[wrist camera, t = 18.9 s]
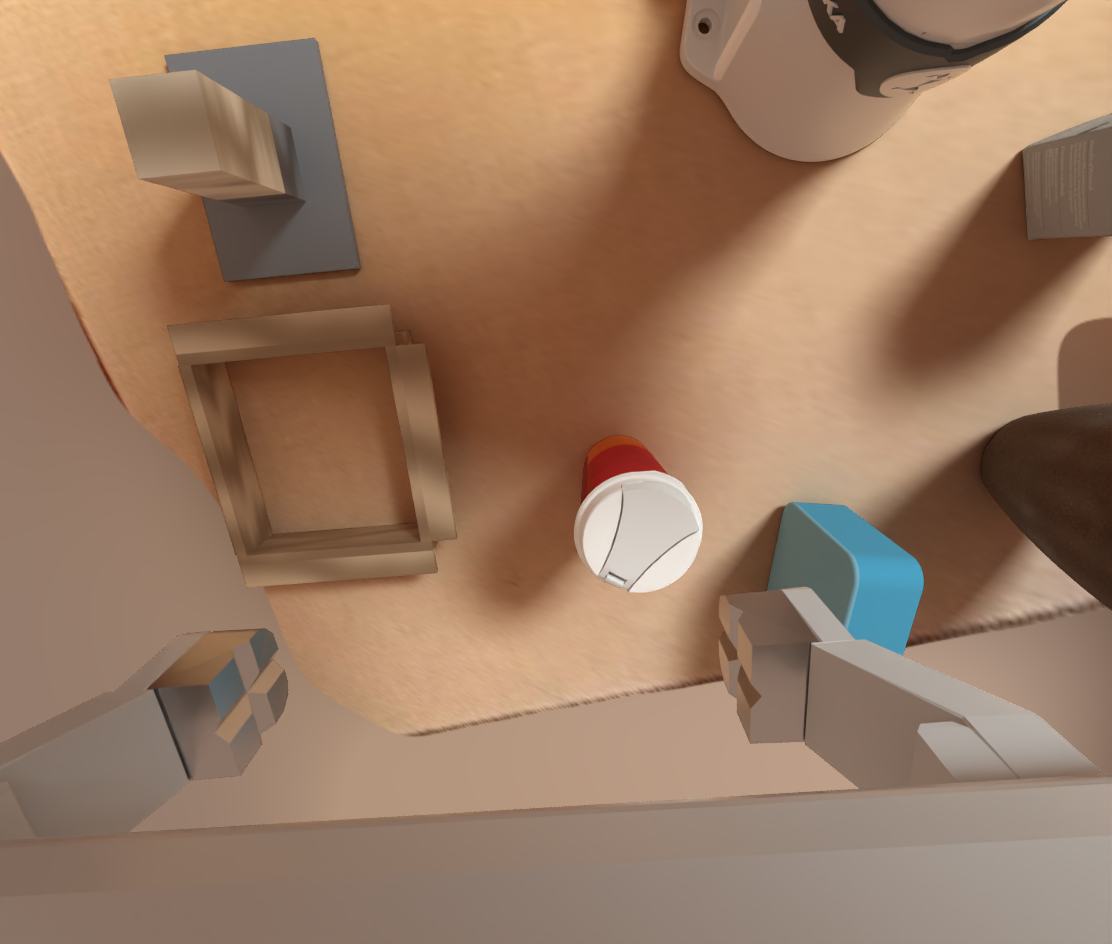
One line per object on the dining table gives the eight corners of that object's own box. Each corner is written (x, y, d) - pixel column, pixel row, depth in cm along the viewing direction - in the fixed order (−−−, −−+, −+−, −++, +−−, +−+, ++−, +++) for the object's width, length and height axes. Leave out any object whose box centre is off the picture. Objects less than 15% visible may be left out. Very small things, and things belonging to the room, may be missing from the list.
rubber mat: (170, 59, 36) (164, 55, 35) (317, 41, 36) (313, 37, 35) (229, 281, 40) (224, 281, 40) (360, 268, 40) (358, 268, 39)
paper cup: (633, 526, 46) (662, 620, 33) (554, 485, 45) (550, 565, 32) (683, 448, 44) (735, 515, 31) (601, 403, 43) (618, 452, 30)
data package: (809, 623, 49) (884, 723, 38) (759, 620, 49) (819, 719, 38) (838, 499, 45) (931, 568, 34) (784, 495, 45) (859, 564, 34)
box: (226, 134, 37) (109, 79, 27) (290, 127, 37) (195, 69, 27) (243, 207, 38) (138, 178, 29) (306, 200, 38) (220, 170, 29)
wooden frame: (199, 322, 41) (162, 325, 38) (431, 300, 41) (417, 301, 37) (268, 564, 48) (242, 587, 44) (469, 548, 47) (461, 571, 43)
